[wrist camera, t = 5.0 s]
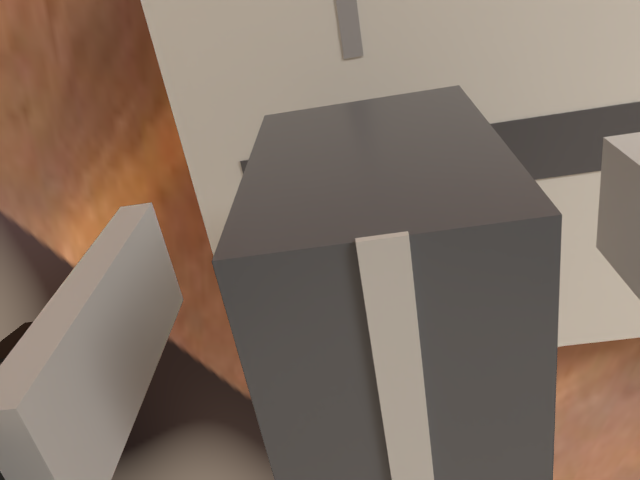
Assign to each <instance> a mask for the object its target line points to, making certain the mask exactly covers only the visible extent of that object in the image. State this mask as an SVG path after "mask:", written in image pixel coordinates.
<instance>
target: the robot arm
mask: <svg viewBox="0 0 640 480" xmlns="http://www.w3.org/2000/svg"><path fill="white" fill-rule="evenodd" d="M596 248H597V249H598V250H599V251H600V252H601V254H602V255H603V256H604V257H605V259H606V260H607V261H608V262H609V263H610V265H611V266H612V267H613V268H614V269H615V271H616V272H617V273H618V274H619V276H620V277H621V278H622V279H623V280H624V282H625V283H626V284H627V285H628V287H629V288H630V289H631V290H632V291H633V293H634V294H635V295H636V296H637V297H638V299H639V300H640V132H636V133H629V134H622V135H615V136H609V137H603V150H602V165H601V180H600V195H599V210H598V225H597V240H596ZM182 302H183V296H182V293H181V290H180V287H179V284H178V281H177V278H176V275H175V272H174V269H173V266H172V263H171V260H170V257H169V254H168V251H167V247H166V244H165V241H164V238H163V235H162V232H161V229H160V226H159V223H158V220H157V217H156V214H155V211H154V208H153V205H152V202H151V203H144V204H137V205H130V206H123V207H120V208H119V210H118V211H117V212H116V214H115V215H114V216H113V217H112V219H111V220H110V221H109V223H108V224H107V225H106V227H105V228H104V229H103V231H102V232H101V233H100V235H99V236H98V237H97V239H96V240H95V241H94V243H93V244H92V245H91V246H90V248H89V249H88V250H87V252H86V253H85V254H84V256H83V257H82V258H81V260H80V261H79V262H78V264H77V265H76V266H75V268H74V269H73V270H72V272H71V273H70V274H69V276H68V277H67V278H66V279H65V281H64V282H63V283H62V285H61V286H60V287H59V289H58V290H57V291H56V293H55V294H54V295H53V297H52V298H51V299H50V301H49V302H48V303H47V305H46V306H45V307H44V308H43V310H42V311H41V312H40V314H39V315H38V316H37V318H36V319H35V320H34V322H28V323H24V324H23V325H21V326H20V327H19V328H18V329H16V330H15V331H14V332H12V333H11V334H10V335H8V336H7V337H6V338H5V339H3V340H2V341H1V342H0V480H111V479H112V476H113V474H114V471H115V469H116V466H117V464H118V462H119V459H120V457H121V454H122V452H123V449H124V447H125V444H126V442H127V439H128V437H129V434H130V432H131V429H132V427H133V424H134V422H135V419H136V417H137V414H138V412H139V409H140V407H141V404H142V402H143V399H144V397H145V394H146V392H147V389H148V387H149V384H150V382H151V379H152V377H153V374H154V372H155V369H156V367H157V364H158V362H159V359H160V357H161V354H162V352H163V349H164V347H165V344H166V342H167V339H168V337H169V334H170V332H171V330H172V327H173V325H174V322H175V320H176V317H177V315H178V312H179V310H180V307H181V305H182Z"/></svg>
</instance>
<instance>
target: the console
mask: <svg viewBox="0 0 640 480" xmlns="http://www.w3.org/2000/svg"><path fill="white" fill-rule="evenodd" d="M141 4H142V7H143V11H144V14H145V18H146V21H147V25H148V28H149V32H150V35H151V39H152V42H153V46H154V49H155V53H156V56H157V60H158V63H159V67H160V70H161V74H162V77H163V81H164V85H165V88H166V92H167V95H168V99H169V102H170V106H171V109H172V113H173V116H174V120H175V123H176V127H177V130H178V134H179V137H180V141H181V144H182V148H183V151H184V155H185V158H186V162H187V165H188V169H189V172H190V176H191V179H192V183H193V186H194V190H195V193H196V197H197V200H198V204H199V207H200V211H201V214H202V218H203V221H204V225H205V228H206V232H207V235H208V239H209V242H210V246H211V249H212V253H213V256H214V253H215V251H216V248H217V245H218V242H219V240H220V237H221V234H222V231H223V228H224V226H225V223H226V220H227V217H228V215H229V212H230V209H231V206H232V204H233V201H234V198H235V195H236V193H237V190H238V187H239V184H240V182H241V179H242V176H243V173H244V171H245V168H246V165H247V162H248V160H249V157H250V154H251V151H252V149H253V146H254V143H255V140H256V138H257V135H258V132H259V129H260V127H261V124H262V121H263V118H264V116H265V115H270V114H277V113H283V112H290V111H296V110H303V109H309V108H315V107H322V106H328V105H335V104H341V103H348V102H354V101H360V100H367V99H373V98H380V97H386V96H392V95H399V94H405V93H412V92H418V91H425V90H431V89H437V88H444V87H450V86H457V85H459V86H460V87H461V88H462V90H463V91H464V92H465V93H466V95H467V96H468V97H469V98H470V100H471V101H472V102H473V103H474V105H475V106H476V107H477V108H478V110H479V111H480V112H481V113H482V115H483V116H484V117H485V118H486V120H487V121H488V122H489V123H490V125H491V126H492V127H493V128H494V130H495V131H496V132H497V133H498V135H499V136H500V137H501V138H502V140H503V141H504V142H505V143H506V145H507V146H508V147H509V148H510V150H511V151H512V152H513V154H514V155H515V156H516V157H517V159H518V160H519V161H520V162H521V164H522V165H523V166H524V167H525V169H526V170H527V171H528V172H529V174H530V175H531V176H532V177H533V179H534V180H535V181H536V182H537V184H538V185H539V186H540V187H541V189H542V190H543V191H544V192H545V194H546V195H547V196H548V197H549V199H550V200H551V201H552V202H553V204H554V205H555V206H556V207H557V209H558V210H559V211H560V212H561V214H562V232H561V261H560V289H559V317H558V346H557V347H559V346H568V345H577V344H586V343H595V342H604V341H612V340H621V339H630V338H639V337H640V300H639V299H638V297H637V296H636V295H635V294H634V293H633V291H632V290H631V289H630V288H629V287H628V285H627V284H626V283H625V282H624V280H623V279H622V278H621V277H620V276H619V274H618V273H617V272H616V271H615V269H614V268H613V267H612V266H611V265H610V263H609V262H608V261H607V260H606V259H605V257H604V256H603V255H602V254H601V252H600V251H599V250H598V249H597V248H596V240H597V225H598V210H599V195H600V180H601V165H602V150H603V137H609V136H615V135H622V134H629V133H636V132H640V0H141Z"/></svg>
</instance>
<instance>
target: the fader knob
mask: <svg viewBox="0 0 640 480" xmlns="http://www.w3.org/2000/svg"><path fill="white" fill-rule="evenodd" d="M561 232H562V214H561V212H560V211H559V210H558V209H557V207H556V206H555V205H554V204H553V202H552V201H551V200H550V199H549V197H548V196H547V195H546V194H545V192H544V191H543V190H542V189H541V187H540V186H539V185H538V184H537V182H536V181H535V180H534V179H533V177H532V176H531V175H530V174H529V172H528V171H527V170H526V169H525V167H524V166H523V165H522V164H521V162H520V161H519V160H518V159H517V157H516V156H515V155H514V154H513V152H512V151H511V150H510V148H509V147H508V146H507V145H506V143H505V142H504V141H503V140H502V138H501V137H500V136H499V135H498V133H497V132H496V131H495V130H494V128H493V127H492V126H491V125H490V123H489V122H488V121H487V120H486V118H485V117H484V116H483V115H482V113H481V112H480V111H479V110H478V108H477V107H476V106H475V105H474V103H473V102H472V101H471V100H470V98H469V97H468V96H467V95H466V93H465V92H464V91H463V90H462V88H461V87H460V86H459V85H457V86H450V87H444V88H437V89H431V90H425V91H418V92H412V93H405V94H399V95H392V96H386V97H380V98H373V99H367V100H360V101H354V102H348V103H341V104H335V105H328V106H322V107H315V108H309V109H303V110H296V111H290V112H283V113H277V114H270V115H265V116H264V118H263V121H262V124H261V127H260V129H259V132H258V135H257V138H256V140H255V143H254V146H253V149H252V151H251V154H250V157H249V160H248V162H247V165H246V168H245V171H244V173H243V176H242V179H241V182H240V184H239V187H238V190H237V193H236V195H235V198H234V201H233V204H232V206H231V209H230V212H229V215H228V217H227V220H226V223H225V226H224V228H223V231H222V234H221V237H220V240H219V242H218V245H217V248H216V251H215V253H214V256H213V259H212V264H213V268H214V271H215V275H216V278H217V282H218V285H219V289H220V292H221V295H222V299H223V302H224V306H225V309H226V313H227V316H228V320H229V323H230V327H231V330H232V334H233V337H234V340H235V344H236V347H237V351H238V354H239V358H240V361H241V365H242V368H243V372H244V375H245V379H246V382H247V385H248V389H249V392H250V396H251V399H252V403H253V406H254V410H255V413H256V416H257V420H258V423H259V427H260V431H261V434H262V437H263V441H264V444H265V448H266V451H267V455H268V458H269V462H270V465H271V469H272V472H273V476H274V479H275V480H553V459H554V431H555V402H556V374H557V346H558V317H559V289H560V261H561Z"/></svg>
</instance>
